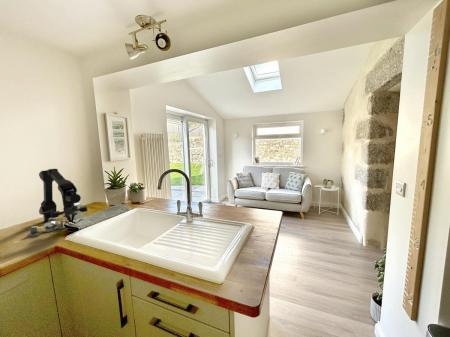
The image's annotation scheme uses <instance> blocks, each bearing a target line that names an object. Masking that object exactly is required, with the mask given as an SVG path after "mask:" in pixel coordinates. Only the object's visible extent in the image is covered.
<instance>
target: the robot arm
mask: <svg viewBox="0 0 450 337" xmlns="http://www.w3.org/2000/svg"><path fill="white" fill-rule="evenodd" d="M38 176H39V179H40V180H41V181H42V182H43V183H42V184H43V200H42V202H40V207H39V210H38V213H39V215H41V216H42V215H43V221H42V222H43V223H44V224H45V223H47V222H48V219H49V218H58V217H59V216H61V215H62V217H63V218H65V219H66V220H67V219H68V220H69V222H73V220H74V217H75V215H77V211H80V212H83V213H85V212H88V206H87V205H82V206H81V207H80V208H78V209H77V206H75V205H74V203H80V201H81V200H82V198H81V196H80V194H78V188H77V187H76V185H75V184H74V183H73V182H72V180H68V179H66V178H65V177H64V176H63V175H62V174H61V172H59V169H58V168H48V169H47V170H40V171H39V173H38ZM53 182H55V183H56V184H57V190H58V191H59V192H60V195H61V200H62V206H63V208H62V210H63V211H60V210H57V208H58V206H57V203H56V202H55V201H54V200H53V197H54V196H53ZM70 215H72V221H71V218H70Z"/></svg>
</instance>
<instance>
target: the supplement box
mask: <svg viewBox="0 0 450 337" xmlns="http://www.w3.org/2000/svg"><path fill="white" fill-rule="evenodd" d="M74 205H75V206H77V209H78V208H80V207H81V206H83V204H82V202H78V203H74ZM83 217H84V212H80V211H77V215H75V217H74V220H77V219H81V218H83ZM70 218H71V221H72V215H70ZM84 218H85V217H84ZM66 220H68V219H67V218H66ZM68 222H69V220H68Z"/></svg>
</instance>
